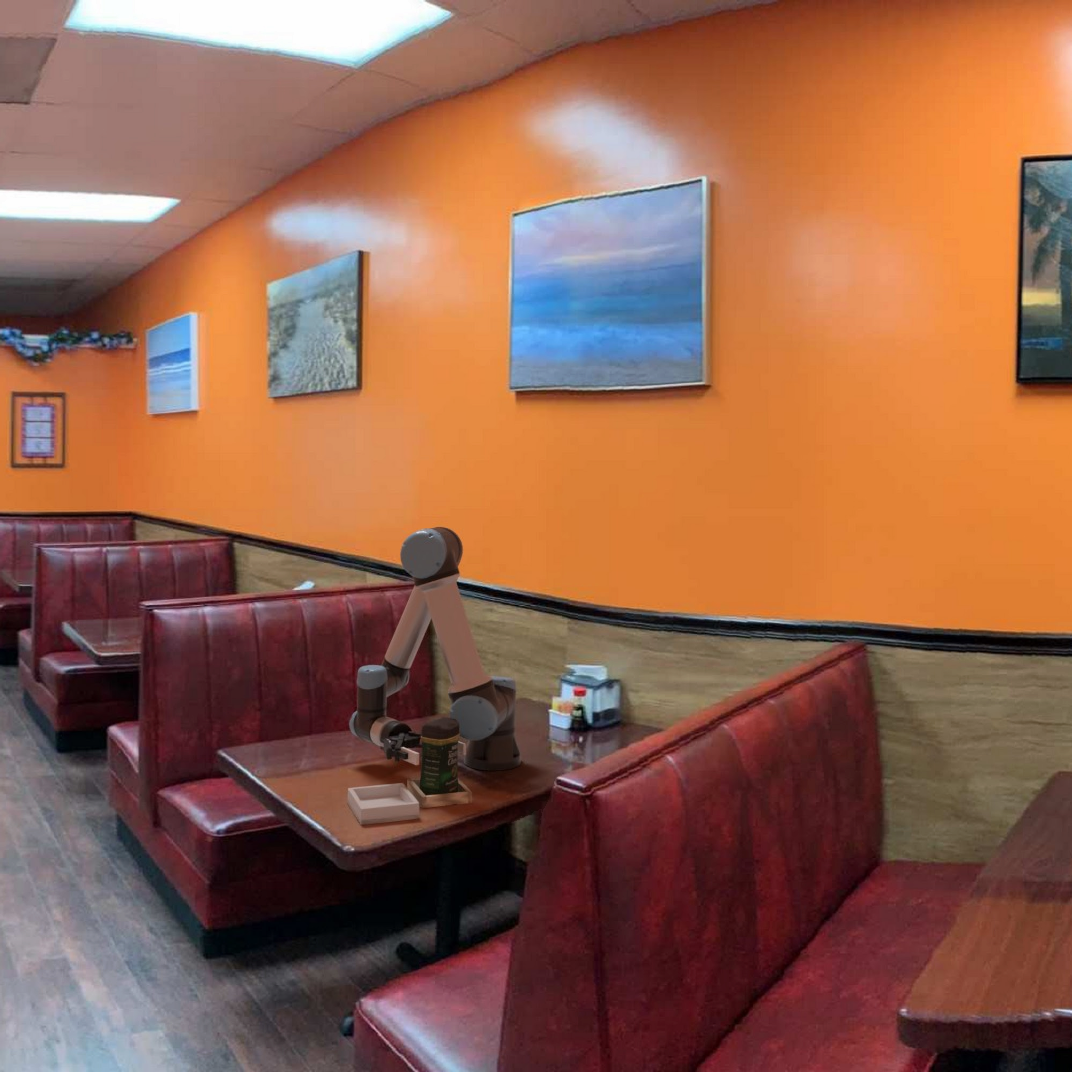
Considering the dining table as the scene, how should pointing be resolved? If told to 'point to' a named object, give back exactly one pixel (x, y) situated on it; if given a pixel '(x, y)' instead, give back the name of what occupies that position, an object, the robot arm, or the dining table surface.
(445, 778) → the coffee jar
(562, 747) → the dining table surface
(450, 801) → the holder collar
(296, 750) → the dining table surface
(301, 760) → the dining table surface
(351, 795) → the parts tray
